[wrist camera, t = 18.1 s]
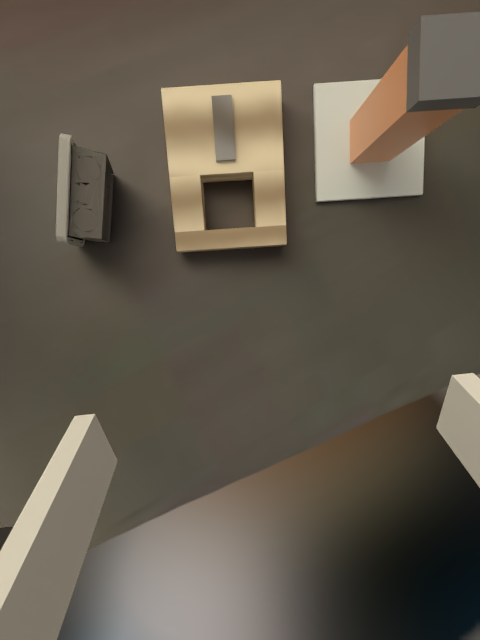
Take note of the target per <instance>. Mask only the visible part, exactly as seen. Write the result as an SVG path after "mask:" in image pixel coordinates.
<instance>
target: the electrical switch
mask: <svg viewBox="0 0 480 640" xmlns="http://www.w3.org/2000/svg"><path fill="white" fill-rule="evenodd" d="M108 173H109V174H108ZM112 174H114V172H113V170H112V167H111V165H110V162H109V159H108V157H107V154H104V153H99V152H93V151H91V150H88V149H86V148H81V147H77V146H76V144H75V143H74V139H73V137H72V135H66V134H60V136H59V155H58V184H57V214H56V239H57V242H59V243H64V244H68V245H70V244H71V245H77V246H82V247H83V246H84V244H85V240H91V241H96V242H108V243H110V231H111V214H112V197H113V181H114V175H112ZM108 187H109V188H108ZM107 195H108V196H107ZM107 222H108V223H107Z"/></svg>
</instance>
